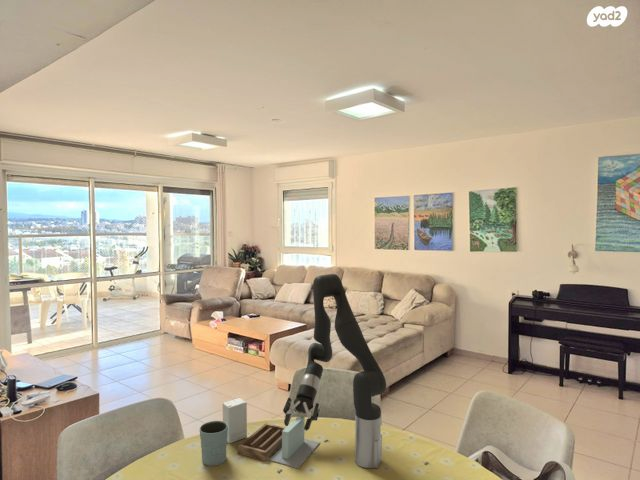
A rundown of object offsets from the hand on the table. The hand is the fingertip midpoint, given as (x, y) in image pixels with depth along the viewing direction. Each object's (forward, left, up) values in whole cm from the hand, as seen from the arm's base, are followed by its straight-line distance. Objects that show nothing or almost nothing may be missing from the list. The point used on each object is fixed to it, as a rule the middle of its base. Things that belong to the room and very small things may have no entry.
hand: (295, 427), depth 159 cm
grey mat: (-1, +2, -8) cm, 8 cm away
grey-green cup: (+24, +19, -8) cm, 32 cm away
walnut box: (+12, +2, -8) cm, 15 cm away
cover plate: (0, +2, -8) cm, 8 cm away
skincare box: (+26, +3, -8) cm, 28 cm away
